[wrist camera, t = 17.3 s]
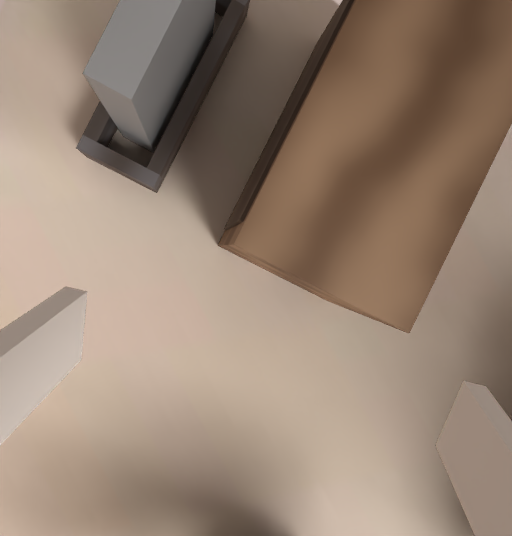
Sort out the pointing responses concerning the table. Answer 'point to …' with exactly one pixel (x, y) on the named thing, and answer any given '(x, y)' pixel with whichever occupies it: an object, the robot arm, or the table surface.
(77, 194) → the table surface
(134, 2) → the door
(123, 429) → the table surface
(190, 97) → the cabinet
